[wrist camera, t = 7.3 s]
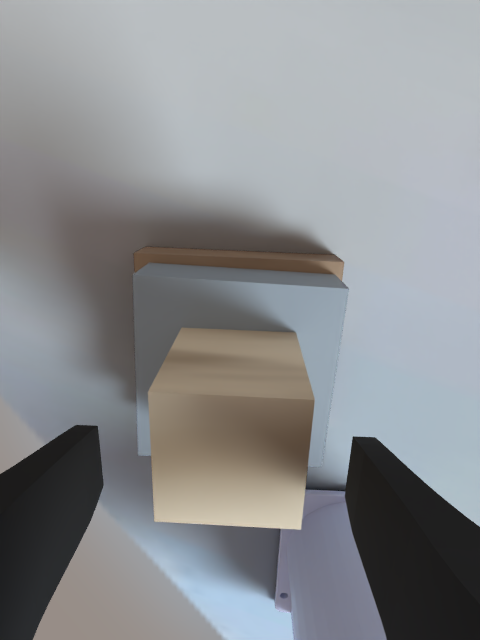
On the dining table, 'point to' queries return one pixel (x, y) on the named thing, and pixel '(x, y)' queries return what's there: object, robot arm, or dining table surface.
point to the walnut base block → (241, 260)
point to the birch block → (231, 429)
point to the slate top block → (238, 324)
